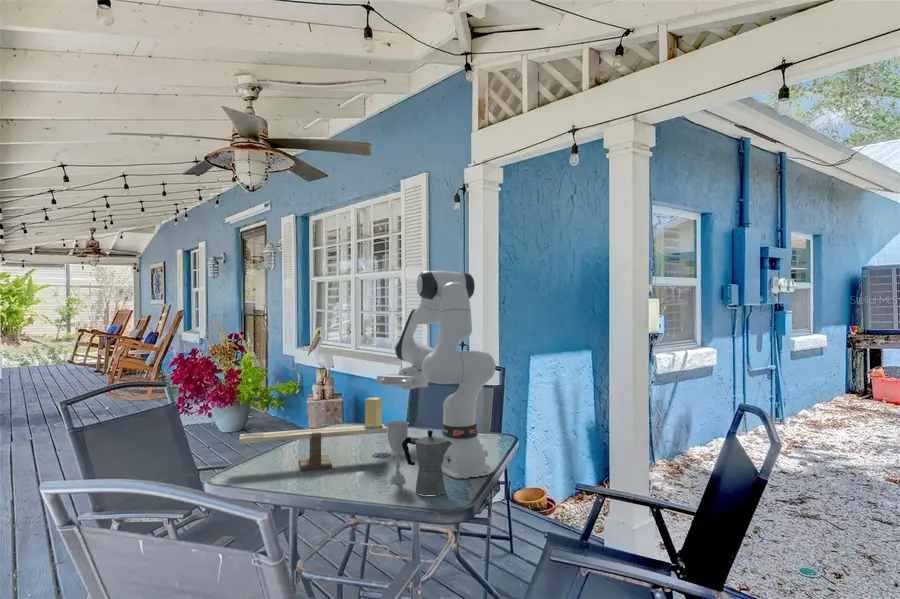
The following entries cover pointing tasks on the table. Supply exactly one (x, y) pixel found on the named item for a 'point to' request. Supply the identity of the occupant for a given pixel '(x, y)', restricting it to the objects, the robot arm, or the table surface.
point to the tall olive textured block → (373, 412)
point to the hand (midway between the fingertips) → (392, 382)
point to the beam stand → (315, 455)
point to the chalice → (397, 445)
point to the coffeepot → (428, 462)
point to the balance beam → (309, 434)
